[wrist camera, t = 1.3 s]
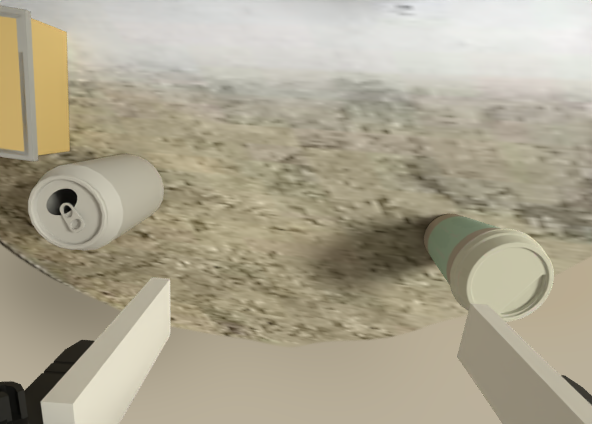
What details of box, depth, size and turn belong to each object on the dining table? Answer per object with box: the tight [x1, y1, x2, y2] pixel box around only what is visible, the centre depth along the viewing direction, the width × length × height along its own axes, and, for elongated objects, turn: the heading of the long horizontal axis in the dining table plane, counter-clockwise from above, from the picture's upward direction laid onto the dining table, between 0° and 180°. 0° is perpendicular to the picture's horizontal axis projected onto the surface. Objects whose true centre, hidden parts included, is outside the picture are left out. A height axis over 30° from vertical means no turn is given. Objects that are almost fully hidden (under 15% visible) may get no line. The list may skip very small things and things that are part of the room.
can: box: [28, 154, 164, 250], centre depth 33 cm, size 8×8×12 cm
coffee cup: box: [424, 214, 554, 322], centre depth 35 cm, size 8×9×12 cm
